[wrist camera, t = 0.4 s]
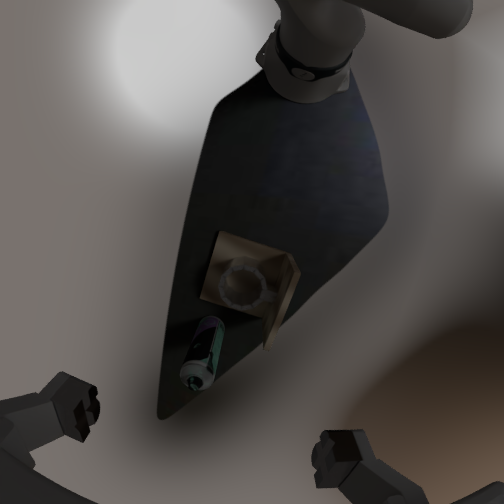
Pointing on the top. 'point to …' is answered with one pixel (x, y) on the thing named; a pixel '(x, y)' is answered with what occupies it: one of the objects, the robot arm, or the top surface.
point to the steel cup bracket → (246, 299)
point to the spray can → (203, 354)
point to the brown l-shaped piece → (253, 279)
